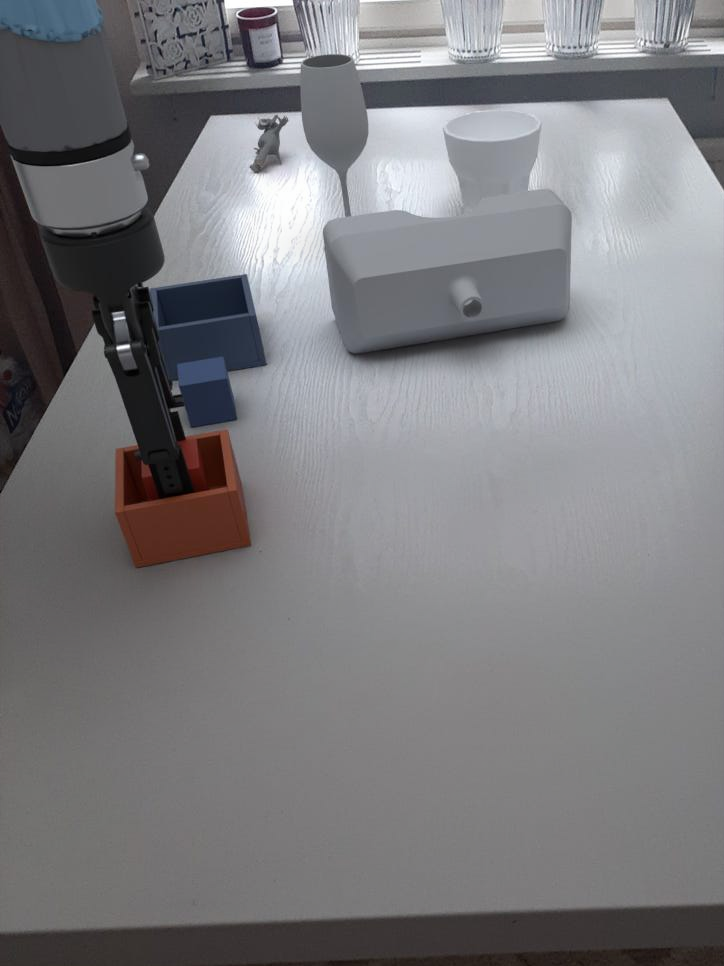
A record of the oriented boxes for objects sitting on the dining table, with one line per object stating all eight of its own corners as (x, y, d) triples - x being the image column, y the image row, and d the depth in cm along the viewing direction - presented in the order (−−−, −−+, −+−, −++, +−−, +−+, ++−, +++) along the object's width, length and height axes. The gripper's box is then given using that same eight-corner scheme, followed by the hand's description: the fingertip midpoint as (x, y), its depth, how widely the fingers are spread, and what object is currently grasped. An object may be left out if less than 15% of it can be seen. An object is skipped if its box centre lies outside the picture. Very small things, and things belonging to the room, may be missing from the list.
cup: (493, 190, 136) (490, 103, 128) (560, 210, 129) (562, 120, 121) (429, 217, 129) (422, 127, 122) (496, 240, 123) (493, 147, 115)
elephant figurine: (225, 171, 146) (246, 131, 150) (259, 197, 149) (279, 157, 153) (254, 134, 139) (275, 92, 142) (289, 162, 142) (309, 120, 145)
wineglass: (384, 234, 126) (364, 50, 111) (379, 258, 120) (356, 68, 106) (327, 236, 126) (299, 53, 112) (318, 261, 121) (288, 71, 106)
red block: (157, 523, 79) (141, 477, 76) (155, 492, 82) (140, 447, 79) (212, 512, 80) (199, 467, 77) (209, 482, 83) (196, 437, 80)
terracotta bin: (135, 568, 79) (114, 512, 75) (134, 502, 85) (115, 448, 81) (251, 545, 80) (236, 489, 76) (241, 483, 87) (227, 428, 83)
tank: (356, 386, 98) (338, 265, 89) (333, 318, 109) (315, 204, 101) (590, 347, 102) (594, 227, 93) (544, 285, 113) (545, 172, 104)
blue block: (190, 427, 94) (178, 386, 91) (188, 404, 97) (176, 363, 94) (237, 419, 94) (226, 377, 91) (233, 397, 98) (223, 356, 94)
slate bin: (166, 381, 100) (151, 330, 97) (163, 337, 108) (149, 288, 104) (266, 364, 102) (256, 314, 98) (257, 322, 109) (246, 273, 106)
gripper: (154, 258, 59) (236, 554, 75) (148, 165, 71) (220, 437, 88) (27, 276, 58) (138, 573, 74) (43, 178, 70) (135, 452, 86)
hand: (182, 499), depth 81 cm, fingers closed on red block, 4 cm apart
